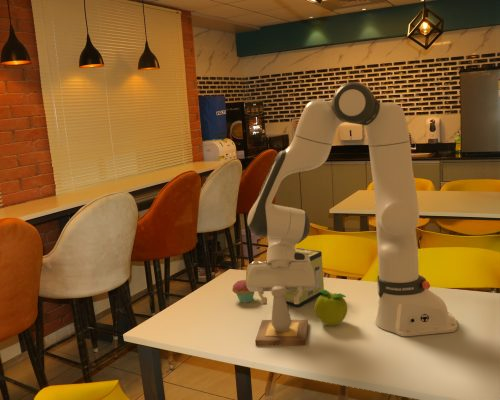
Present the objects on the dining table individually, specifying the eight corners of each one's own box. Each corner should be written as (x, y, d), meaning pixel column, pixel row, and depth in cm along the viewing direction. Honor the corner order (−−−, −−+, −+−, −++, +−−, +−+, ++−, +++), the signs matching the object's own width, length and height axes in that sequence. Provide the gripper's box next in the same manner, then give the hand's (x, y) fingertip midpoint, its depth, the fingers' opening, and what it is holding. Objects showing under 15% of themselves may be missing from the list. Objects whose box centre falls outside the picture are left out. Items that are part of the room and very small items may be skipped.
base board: (308, 324, 155) (307, 318, 155) (305, 345, 142) (305, 339, 141) (262, 324, 158) (262, 319, 158) (255, 345, 144) (255, 339, 144)
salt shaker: (281, 323, 153) (278, 282, 151) (296, 328, 149) (292, 285, 147) (268, 330, 149) (264, 287, 147) (282, 335, 145) (279, 291, 143)
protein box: (274, 302, 175) (270, 258, 172) (300, 288, 187) (297, 247, 184) (299, 308, 168) (295, 262, 166) (325, 293, 180) (322, 250, 177)
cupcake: (262, 297, 181) (259, 264, 179) (249, 306, 174) (246, 272, 172) (242, 294, 186) (239, 262, 184) (228, 302, 179) (225, 269, 177)
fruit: (328, 315, 161) (326, 284, 159) (353, 322, 154) (351, 290, 152) (309, 325, 154) (307, 293, 153) (335, 333, 148) (333, 300, 146)
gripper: (245, 257, 155) (242, 300, 147) (313, 254, 151) (314, 298, 143) (249, 266, 160) (246, 308, 152) (315, 264, 156) (316, 307, 148)
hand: (280, 303), depth 147 cm, fingers open, 8 cm apart
